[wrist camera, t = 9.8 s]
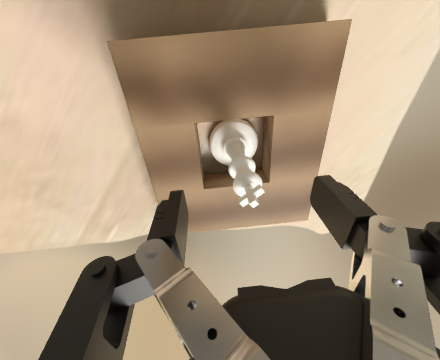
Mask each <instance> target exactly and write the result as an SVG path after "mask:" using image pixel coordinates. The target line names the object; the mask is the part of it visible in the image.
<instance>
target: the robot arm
mask: <svg viewBox="0 0 440 360" xmlns="http://www.w3.org/2000/svg"><path fill="white" fill-rule="evenodd" d="M310 202H311V205H312V207H313V208H314V210H315V211H316V213H317V214H318V216H319V217H320V218H321V220H322V221H323V223H324V224H325V226H326V227H327V228H328V230H329V231H330V233H331V234H332V236H333V237H334V238H335V240H336V241H337V243H338V244H339V245H340V247H341V248H342V249H343V250H344V249H352V250H353V251H354V253H353V255H352V262H351V270H350V278H349V286H348V289H346V288H343V287H339V286H335V285H334V283H333V281H332V279H331V278H325V279H315V280H307V281H305V282H303V283H301V284H298V285H296V286H293V287H291V288H289V289H281V288H274V287H267V286H261V285H260V286H251V287H243V288H238V295H237V296H235V297H233V298H231V299H230V300H228V301H227V302H226V303H224V304H223V305H221V304H220V303H219V302H218V301H217V299H216V298H215V297H214V296H213V295H212V293H211V292H210V291H209V290H208V289H207V287H206V286H205V285H204V284H203V283H202V281H201V280H200V279H199V278H198V277H197V276H196V274H195V273H194V272H193V271H192V270H191V269H190V268H185V266H184V261H185V251H186V239H187V230H188V219H189V215H188V207H187V203H186V198H185V194H184V191H183V190H176V191H170V195H169V199H168V200H162V201H161V203H160V204H159V205H158V206H157V209H156V212H155V215H154V220H153V222H152V225H151V228H150V232H149V235H148V238H147V241H146V242H144V243H143V244H142V245H141V246H140V247H139V248H138V249H137V251H136V253H135V254H133V255H131V256H128V257H126V258H123V259H120V260H118V261H115V260H114V258H112V257H110V256H104V257H100V258H97V259H95V260H94V261H92V262H91V263H89V264H88V265H87V266H86V267H85V268H84V270H83V271H82V273H81V275H80V277H79V279H78V281H77V283H76V285H75V287H74V289H73V291H72V293H71V295H70V297H69V299H68V301H67V303H66V305H65V307H64V309H63V311H62V313H61V315H60V317H59V319H58V321H57V323H56V325H55V327H54V329H53V331H52V333H51V335H50V337H49V339H48V341H47V343H46V345H45V348H44V349H43V351H42V353H41V355H40V357H39V359H38V360H122V358H123V355H124V350H125V346H126V341H127V336H128V332H129V327H130V323H131V318H132V314H133V309H134V305H135V303H137V302H139V301H141V300H143V299H146V298H148V297H150V296H152V295H154V296H155V297H156V299H157V301H158V303H159V304H160V306H161V308H162V309H163V311H164V313H165V315H166V316H167V318H168V320H169V322H170V324H171V325H172V327H173V329H174V331H175V333H176V335H177V336H178V338H179V340H180V342H181V343H182V345H183V347H184V349H185V350H186V352H187V354H188V356H189V357H190V359H189V360H440V350H439V349H438V348H436V346H435V341H434V335H433V330H432V324H431V319H430V313H429V308H428V303H427V300H428V301H429V302H430V303H431V305H432V306H433V307H434V308H435V309H436V311H437V312H438V313H439V314H440V222H430V223H428V224H427V225H426V226H425V228H424V229H414V228H406V227H404V226H403V225H402V224H401V223H400V222H398V221H397V220H395V219H393V218H390V217H387V216H382V215H377V214H376V213H375V212H374V211H373V210H372V209H371V208H370V207H369V206H368V205H367V204H366V203H364V202H363V201H362V200H361V199H359V197H358V196H357V195H356V194H354V192H353V191H352V190H351V189H349V188H348V187H347V186H345V185H343V184H341V183H339V182H338V183H337V182H336V181H335V180H334V179H333V178H332V177H331V176H330V175H325V176H316V177H315V178H314V181H313V186H312V190H311V195H310Z"/></svg>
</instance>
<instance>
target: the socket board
mask: <svg viewBox="0 0 440 360" xmlns="http://www.w3.org/2000/svg"><path fill="white" fill-rule="evenodd" d="M351 21H352V19H347V20H336V21H325V22H314V23H303V24H292V25H281V26H270V27H259V28H248V29H237V30H226V31H215V32H204V33H192V34H181V35H170V36H159V37H148V38H137V39H126V40H115V41H107V43H108V46H109V49H110V52H111V55H112V59H113V62H114V65H115V68H116V71H117V74H118V77H119V81H120V84H121V87H122V90H123V93H124V96H125V100H126V103H127V106H128V109H129V112H130V115H131V119H132V122H133V125H134V128H135V131H136V134H137V138H138V141H139V144H140V147H141V150H142V153H143V157H144V160H145V163H146V166H147V169H148V172H149V176H150V179H151V182H152V185H153V188H154V191H155V195H156V198H157V201H158V204H160V203H161V201H162V200H168V199H169V195H170V191H176V190H183V191H184V194H185V198H186V203H187V207H188V215H189V219H188V230H187V233H192V232H201V231H211V230H220V229H230V228H239V227H249V226H258V225H268V224H277V223H287V222H296V221H306V220H308V217H309V212H310V208H311V202H310V195H311V190H312V186H313V181H314V178H315V177H316V176H318V171H319V167H320V162H321V158H322V153H323V149H324V144H325V139H326V135H327V130H328V126H329V121H330V117H331V112H332V108H333V103H334V99H335V94H336V89H337V85H338V80H339V76H340V71H341V67H342V62H343V58H344V53H345V49H346V44H347V39H348V35H349V30H350V26H351ZM263 116H264V131H263V155H262V168H257V169H255V173H257V174H258V175H259V176H260V177H261V179H262V187H263V189H264V191H265V193H263V194H262V195H260V196H259V197H257V200H258V203H259V205H257V206H256V207H254V208H252V207H251V206H250V205H249V204H247V205H246V206H244V207H242V206H241V205H240V204H239V201H238V199H239V198H240V197H241V196H239V195H237V194H236V193H235V191H234V189H233V181H234V178H233V177H232V176H231V175H230V174H229V171H228V172H218V173H208V174H204V171H203V164H202V157H201V150H200V143H199V136H198V129H197V123H201V122H211V121H222V120H232V119H242V118H253V117H263Z"/></svg>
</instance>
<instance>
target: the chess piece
mask: <svg viewBox="0 0 440 360" xmlns="http://www.w3.org/2000/svg"><path fill="white" fill-rule="evenodd" d="M209 146H210V150H211V152H212V155H213V156H214V158H215V159H216V160H217V161H218V162H220V163H222V164H224V165H227V166H229V168H228V170H229V174H230V175H231V176H232V177H233V178H234V181H233V189H234V191H235V193H236V194H237V195H239V196H241V197H240V198H239V199H238V201H239V204H240V205H241V206H242V207H244V206H246V205H247V204H249V205H250V206H251V207H252V208H254V207H256V206H257V205H259V203H258V200H257V197H259V196H260V195H262V194H263V193H265V191H264V189H263V187H262V179H261V177H260V176H259V175H258V174H257V173H255V168H256V166H255V162H254V161H253V160H252V159H251V158H252V157H253V155H254V154H255V152H256V149H257V146H258V138H257V134H256V131H255V129H254V128H253V126H252V125H251V124H250V123H248V122H247V121H245V120H243V119H232V120H224V121H222V122H220V123H219V124H218V125H217V126H216V127H215V128H214V129H213V131H212V133H211V135H210V139H209Z"/></svg>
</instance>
